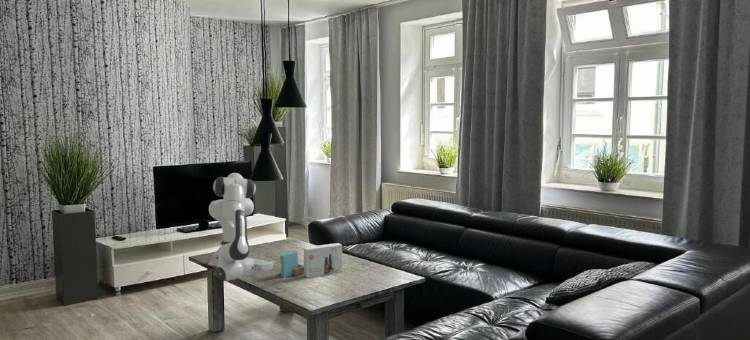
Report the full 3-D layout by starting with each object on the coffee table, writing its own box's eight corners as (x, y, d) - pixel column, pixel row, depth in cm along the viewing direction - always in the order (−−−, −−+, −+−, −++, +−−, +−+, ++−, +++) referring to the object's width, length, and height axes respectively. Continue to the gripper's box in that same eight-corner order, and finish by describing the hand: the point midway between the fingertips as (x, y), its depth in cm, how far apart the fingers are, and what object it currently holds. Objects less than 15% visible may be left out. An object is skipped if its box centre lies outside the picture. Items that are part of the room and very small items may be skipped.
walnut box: (296, 276, 314) (296, 269, 314) (283, 273, 321) (283, 266, 321) (307, 273, 320) (307, 266, 320) (294, 270, 327) (293, 263, 327)
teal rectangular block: (284, 277, 313) (283, 255, 312) (281, 276, 315) (280, 255, 314) (298, 273, 321) (297, 252, 320) (295, 272, 322) (294, 251, 321)
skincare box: (307, 278, 311) (306, 249, 309) (303, 276, 316) (302, 247, 314) (343, 272, 320) (342, 244, 319) (339, 270, 325) (338, 242, 323)
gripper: (259, 263, 288) (280, 257, 298) (234, 258, 301) (255, 252, 311) (260, 275, 288) (281, 269, 299) (235, 270, 302) (256, 264, 312)
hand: (268, 261), depth 305 cm, fingers open, 8 cm apart
